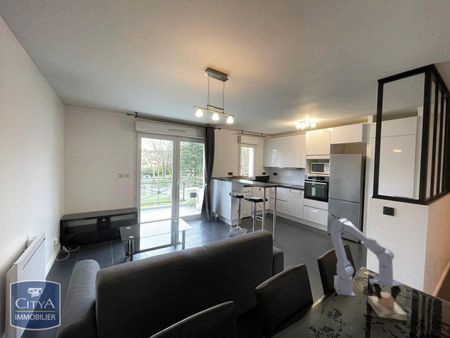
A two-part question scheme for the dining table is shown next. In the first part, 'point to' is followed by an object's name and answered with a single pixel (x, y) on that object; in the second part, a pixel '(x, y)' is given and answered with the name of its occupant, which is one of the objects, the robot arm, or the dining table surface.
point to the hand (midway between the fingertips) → (386, 298)
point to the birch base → (387, 309)
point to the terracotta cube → (386, 300)
